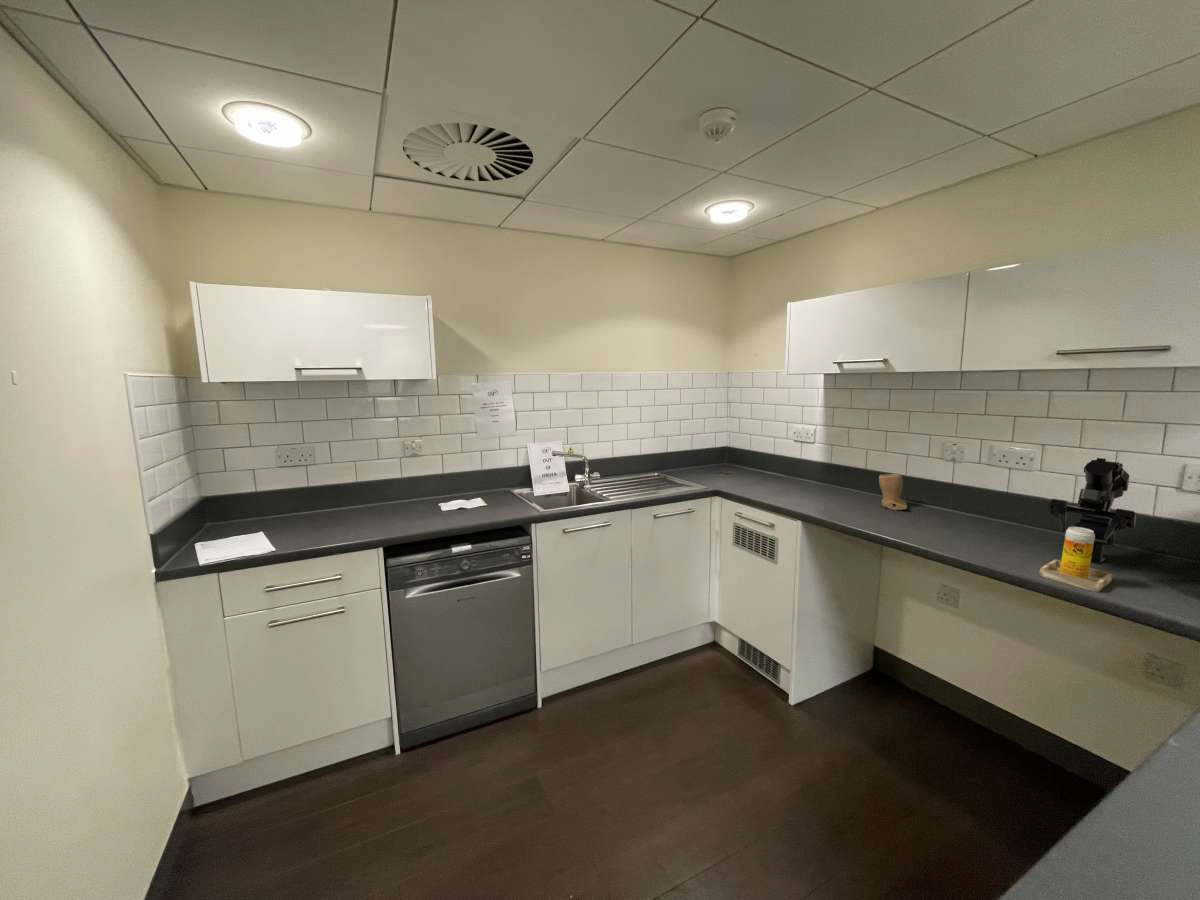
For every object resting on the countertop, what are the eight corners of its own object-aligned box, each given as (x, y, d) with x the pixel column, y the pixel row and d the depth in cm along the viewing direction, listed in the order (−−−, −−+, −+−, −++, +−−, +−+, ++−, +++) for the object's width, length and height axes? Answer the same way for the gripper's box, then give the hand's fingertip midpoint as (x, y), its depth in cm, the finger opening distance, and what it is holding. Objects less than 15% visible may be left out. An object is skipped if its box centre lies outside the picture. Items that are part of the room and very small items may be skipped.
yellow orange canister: (1060, 578, 143) (1068, 530, 141) (1057, 571, 148) (1065, 524, 146) (1089, 583, 140) (1097, 534, 137) (1085, 576, 145) (1093, 528, 142)
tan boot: (876, 500, 231) (879, 470, 228) (905, 504, 225) (909, 472, 222) (875, 508, 218) (879, 476, 216) (906, 512, 212) (910, 479, 210)
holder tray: (1053, 566, 154) (1055, 559, 153) (1111, 581, 143) (1113, 573, 143) (1038, 575, 147) (1040, 568, 147) (1098, 592, 136) (1099, 584, 136)
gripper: (1054, 473, 154) (1040, 513, 149) (1140, 484, 139) (1128, 528, 134) (1056, 493, 160) (1043, 532, 155) (1140, 506, 145) (1128, 549, 140)
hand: (1083, 535), depth 146 cm, fingers open, 9 cm apart
